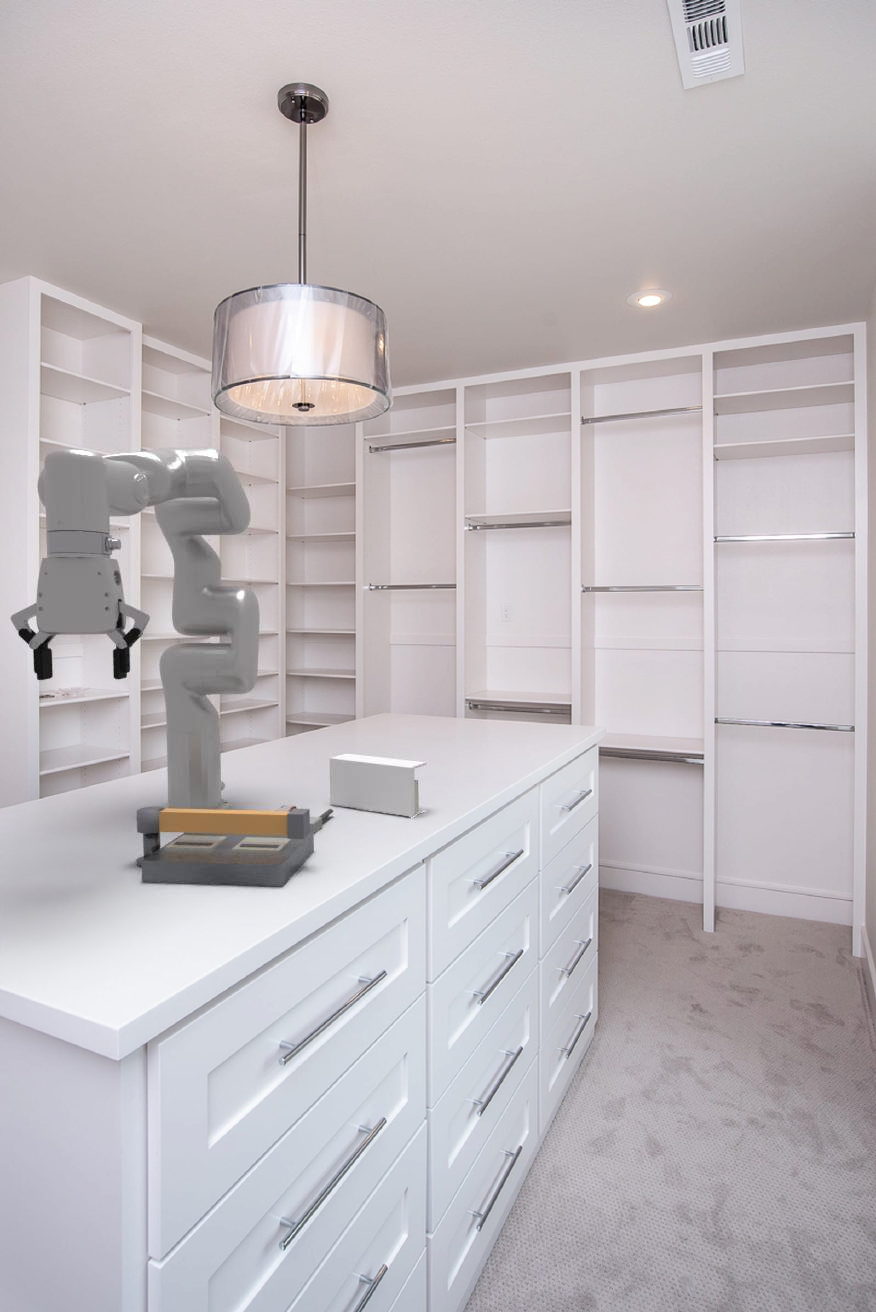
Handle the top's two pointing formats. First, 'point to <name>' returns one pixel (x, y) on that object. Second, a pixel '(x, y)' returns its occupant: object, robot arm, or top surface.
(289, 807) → the walkie-talkie
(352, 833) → the top surface
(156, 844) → the pivot post
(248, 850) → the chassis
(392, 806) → the cigarette display
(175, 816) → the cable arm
